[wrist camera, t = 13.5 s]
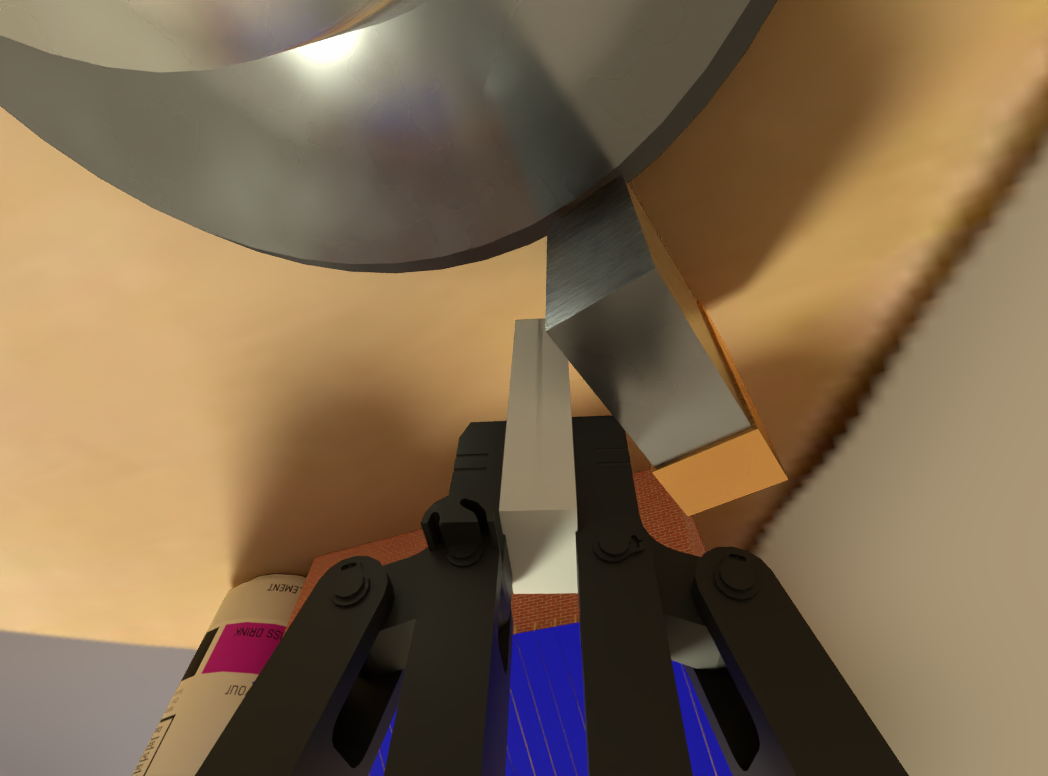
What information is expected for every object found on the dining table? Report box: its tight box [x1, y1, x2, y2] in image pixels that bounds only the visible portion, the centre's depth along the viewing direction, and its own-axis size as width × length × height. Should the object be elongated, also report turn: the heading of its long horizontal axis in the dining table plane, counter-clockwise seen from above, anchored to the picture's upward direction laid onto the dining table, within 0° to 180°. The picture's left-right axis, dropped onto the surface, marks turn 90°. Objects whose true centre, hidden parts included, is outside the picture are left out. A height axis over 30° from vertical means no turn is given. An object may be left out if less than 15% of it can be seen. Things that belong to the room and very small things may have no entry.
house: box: [252, 469, 733, 776], centre depth 24 cm, size 12×20×12 cm, turn 115°
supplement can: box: [132, 574, 307, 776], centre depth 26 cm, size 8×8×15 cm
